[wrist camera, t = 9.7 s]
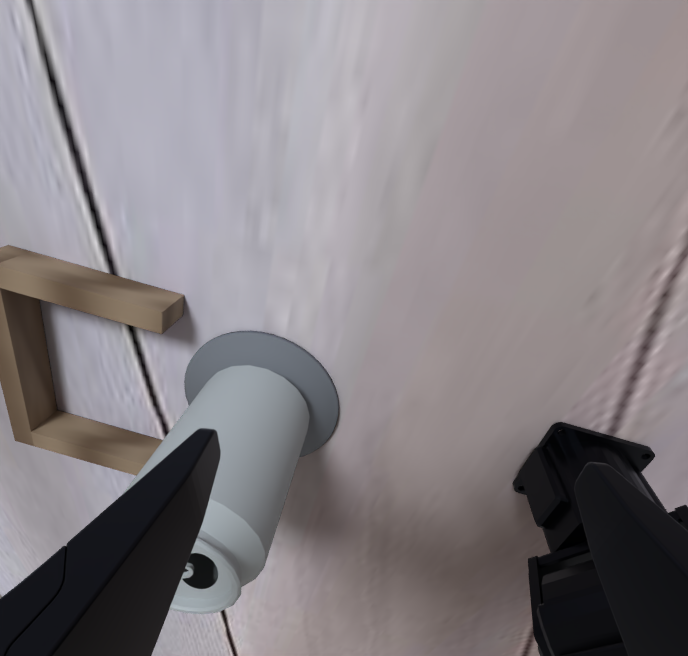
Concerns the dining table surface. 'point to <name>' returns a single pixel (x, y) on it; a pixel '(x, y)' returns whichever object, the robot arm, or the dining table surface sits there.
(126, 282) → the wooden frame
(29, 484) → the dining table surface
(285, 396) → the can
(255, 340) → the pad
